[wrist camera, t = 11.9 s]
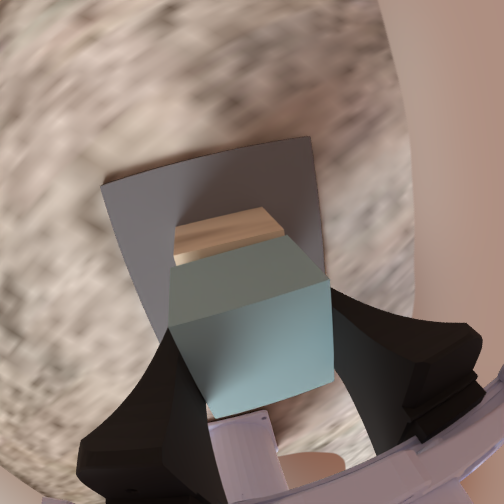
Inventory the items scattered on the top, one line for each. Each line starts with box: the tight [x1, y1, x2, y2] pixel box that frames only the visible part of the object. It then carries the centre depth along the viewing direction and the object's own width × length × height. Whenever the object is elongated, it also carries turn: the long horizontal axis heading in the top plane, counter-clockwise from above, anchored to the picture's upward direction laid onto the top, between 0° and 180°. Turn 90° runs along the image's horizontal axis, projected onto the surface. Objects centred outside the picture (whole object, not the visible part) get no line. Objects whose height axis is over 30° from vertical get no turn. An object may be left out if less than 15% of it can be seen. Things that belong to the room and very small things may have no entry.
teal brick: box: [168, 235, 334, 419], centre depth 11 cm, size 5×5×4 cm
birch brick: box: [173, 207, 285, 266], centre depth 16 cm, size 5×5×4 cm
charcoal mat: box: [100, 136, 325, 343], centre depth 18 cm, size 12×12×1 cm
